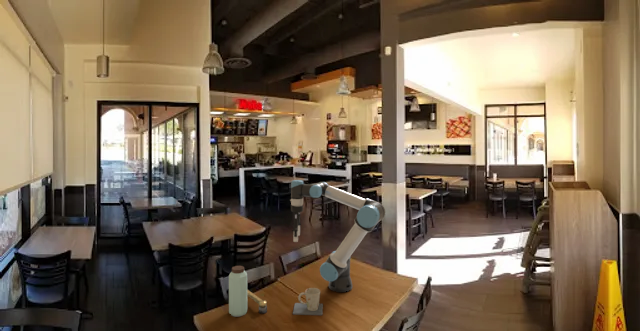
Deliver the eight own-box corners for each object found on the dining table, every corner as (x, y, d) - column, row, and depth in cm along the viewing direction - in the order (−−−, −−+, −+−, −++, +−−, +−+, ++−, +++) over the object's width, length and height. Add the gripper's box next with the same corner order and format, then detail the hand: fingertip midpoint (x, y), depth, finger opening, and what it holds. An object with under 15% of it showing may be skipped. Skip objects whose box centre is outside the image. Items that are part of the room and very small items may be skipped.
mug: (318, 313, 188) (318, 295, 187) (296, 310, 190) (296, 292, 189) (321, 305, 196) (321, 288, 195) (299, 303, 198) (300, 286, 198)
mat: (323, 304, 198) (323, 303, 198) (322, 315, 186) (322, 314, 186) (295, 303, 199) (295, 302, 199) (292, 314, 187) (292, 313, 187)
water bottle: (231, 319, 181) (230, 272, 179) (226, 310, 190) (226, 266, 188) (250, 315, 186) (249, 269, 184) (244, 306, 195) (244, 263, 193)
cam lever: (245, 290, 209) (245, 285, 208) (268, 306, 189) (268, 301, 189) (239, 292, 206) (239, 287, 206) (261, 309, 186) (261, 303, 186)
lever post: (267, 309, 192) (267, 304, 191) (266, 313, 187) (266, 308, 187) (259, 309, 192) (259, 304, 192) (258, 313, 187) (258, 308, 187)
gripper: (293, 201, 229) (293, 232, 231) (288, 209, 204) (288, 244, 206) (304, 201, 229) (304, 233, 231) (301, 209, 204) (300, 244, 206)
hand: (296, 238), depth 218 cm, fingers open, 13 cm apart
